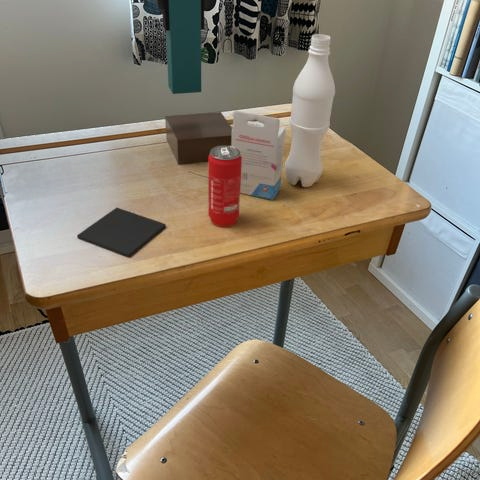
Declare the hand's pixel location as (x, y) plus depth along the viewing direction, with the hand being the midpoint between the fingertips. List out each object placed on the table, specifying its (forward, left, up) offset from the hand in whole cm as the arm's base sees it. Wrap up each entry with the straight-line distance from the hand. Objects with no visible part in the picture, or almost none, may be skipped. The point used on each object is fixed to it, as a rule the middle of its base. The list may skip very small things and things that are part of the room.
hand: (183, 27), depth 98 cm
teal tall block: (0, 0, -3) cm, 3 cm away
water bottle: (+30, -7, -21) cm, 37 cm away
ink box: (+24, -15, -21) cm, 35 cm away
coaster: (+12, -39, -21) cm, 45 cm away
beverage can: (+24, -27, -21) cm, 42 cm away
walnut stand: (+7, -5, -21) cm, 22 cm away
